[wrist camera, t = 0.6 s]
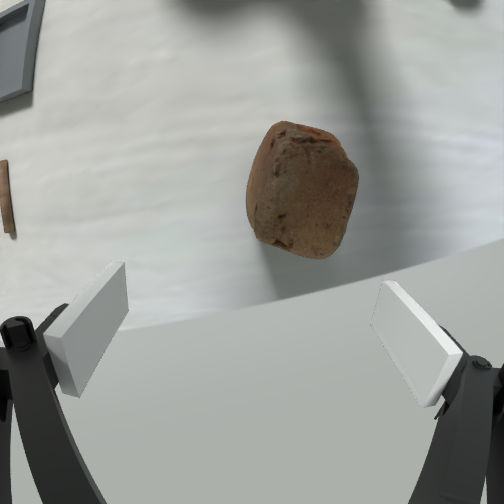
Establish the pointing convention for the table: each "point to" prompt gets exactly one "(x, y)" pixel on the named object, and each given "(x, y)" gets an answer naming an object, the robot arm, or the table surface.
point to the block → (301, 190)
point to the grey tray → (19, 47)
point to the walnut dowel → (5, 199)
